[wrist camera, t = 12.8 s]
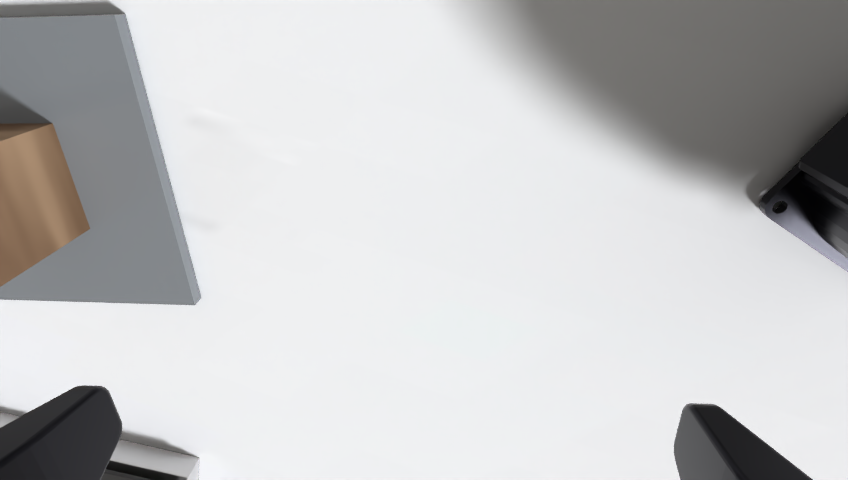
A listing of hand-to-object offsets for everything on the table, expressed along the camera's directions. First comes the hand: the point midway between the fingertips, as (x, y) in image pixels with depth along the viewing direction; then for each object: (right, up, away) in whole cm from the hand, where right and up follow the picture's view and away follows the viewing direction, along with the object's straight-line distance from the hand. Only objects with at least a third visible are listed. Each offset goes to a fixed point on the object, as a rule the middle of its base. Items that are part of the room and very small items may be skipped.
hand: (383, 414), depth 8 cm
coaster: (-16, +5, +14) cm, 21 cm away
